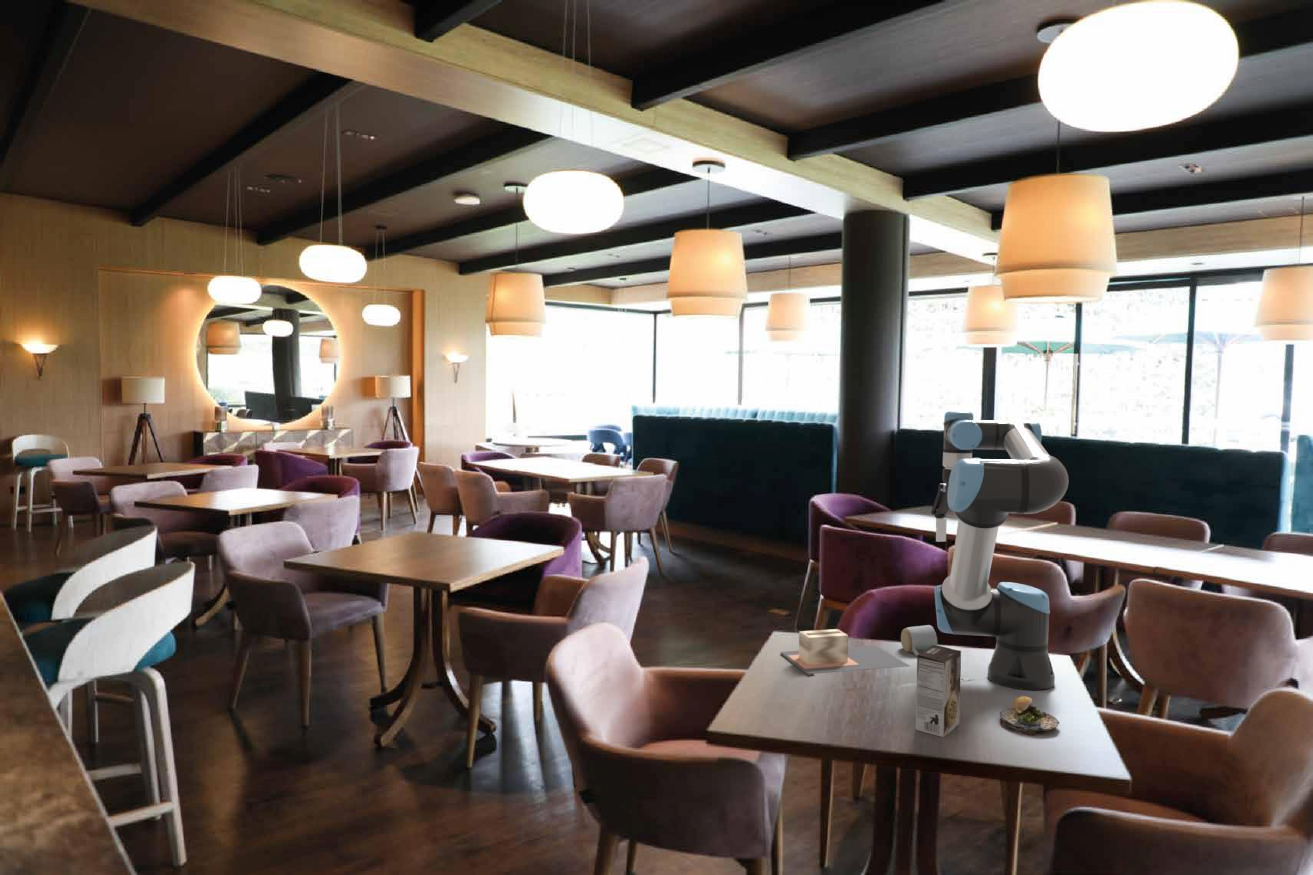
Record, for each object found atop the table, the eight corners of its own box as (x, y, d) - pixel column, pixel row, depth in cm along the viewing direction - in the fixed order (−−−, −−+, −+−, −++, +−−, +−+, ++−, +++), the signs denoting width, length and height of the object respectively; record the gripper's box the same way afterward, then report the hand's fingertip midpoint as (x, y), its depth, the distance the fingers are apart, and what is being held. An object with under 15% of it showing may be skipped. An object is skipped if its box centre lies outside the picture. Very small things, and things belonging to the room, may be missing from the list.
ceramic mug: (898, 648, 234) (899, 622, 233) (926, 648, 235) (926, 621, 234) (914, 661, 224) (915, 633, 223) (943, 660, 225) (944, 632, 224)
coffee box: (930, 717, 185) (932, 643, 184) (960, 724, 181) (962, 649, 180) (913, 729, 178) (915, 653, 177) (944, 737, 174) (946, 660, 173)
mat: (910, 668, 218) (910, 665, 218) (808, 675, 211) (808, 673, 211) (875, 647, 235) (875, 644, 235) (780, 654, 228) (780, 651, 228)
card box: (808, 664, 217) (808, 637, 217) (798, 657, 223) (799, 630, 223) (847, 661, 220) (848, 634, 219) (837, 654, 226) (837, 628, 225)
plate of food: (1039, 741, 173) (1040, 705, 172) (987, 723, 182) (988, 688, 182) (1070, 728, 180) (1072, 693, 179) (1019, 711, 189) (1020, 678, 189)
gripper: (998, 472, 220) (995, 553, 221) (943, 464, 244) (941, 537, 246) (972, 472, 218) (970, 554, 220) (920, 464, 243) (918, 538, 244)
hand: (955, 545), depth 233 cm, fingers open, 13 cm apart
